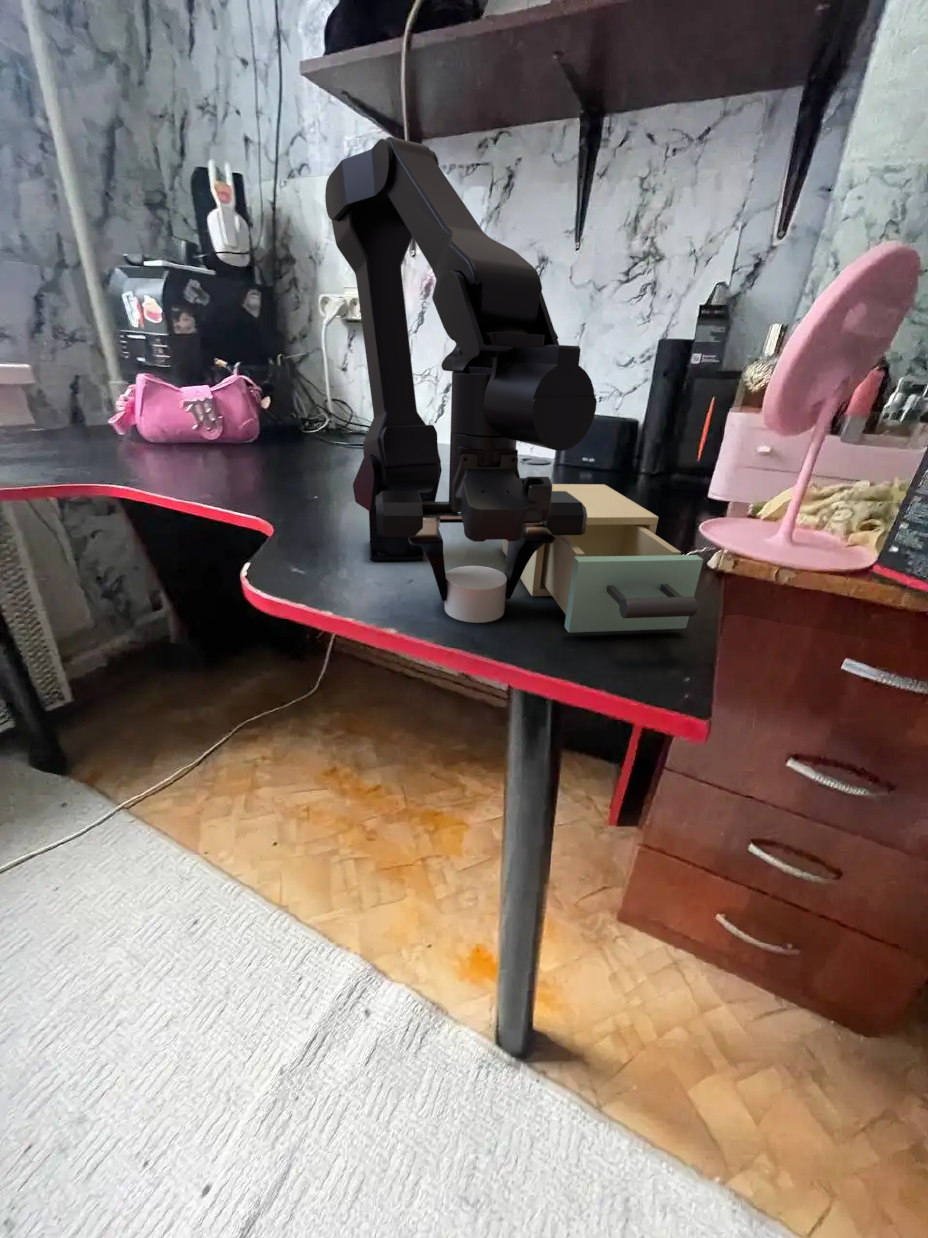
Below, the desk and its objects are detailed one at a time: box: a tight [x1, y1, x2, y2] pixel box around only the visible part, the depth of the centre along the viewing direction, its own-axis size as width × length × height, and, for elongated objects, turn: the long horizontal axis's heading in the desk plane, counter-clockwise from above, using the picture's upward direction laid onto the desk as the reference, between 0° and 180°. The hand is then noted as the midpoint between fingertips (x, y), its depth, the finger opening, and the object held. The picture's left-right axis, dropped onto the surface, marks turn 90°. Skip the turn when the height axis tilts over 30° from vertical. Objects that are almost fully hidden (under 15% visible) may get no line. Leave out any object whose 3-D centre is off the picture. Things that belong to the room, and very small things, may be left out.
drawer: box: [541, 525, 704, 634], centre depth 52 cm, size 18×11×7 cm, turn 9°
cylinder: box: [443, 565, 507, 624], centre depth 54 cm, size 6×6×4 cm
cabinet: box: [502, 483, 659, 597], centre depth 63 cm, size 15×13×9 cm
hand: (475, 598), depth 54 cm, fingers closed on cylinder, 6 cm apart
